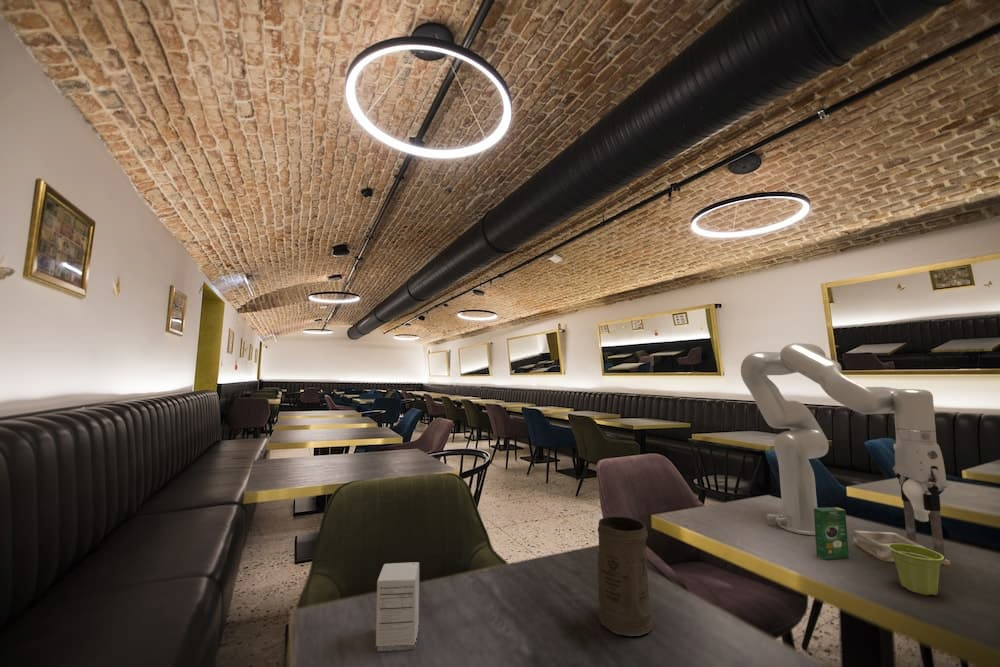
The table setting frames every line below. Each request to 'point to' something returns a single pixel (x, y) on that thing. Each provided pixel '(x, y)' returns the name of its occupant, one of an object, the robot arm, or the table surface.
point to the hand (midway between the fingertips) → (920, 505)
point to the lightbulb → (916, 498)
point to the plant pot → (917, 567)
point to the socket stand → (879, 540)
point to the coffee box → (831, 533)
